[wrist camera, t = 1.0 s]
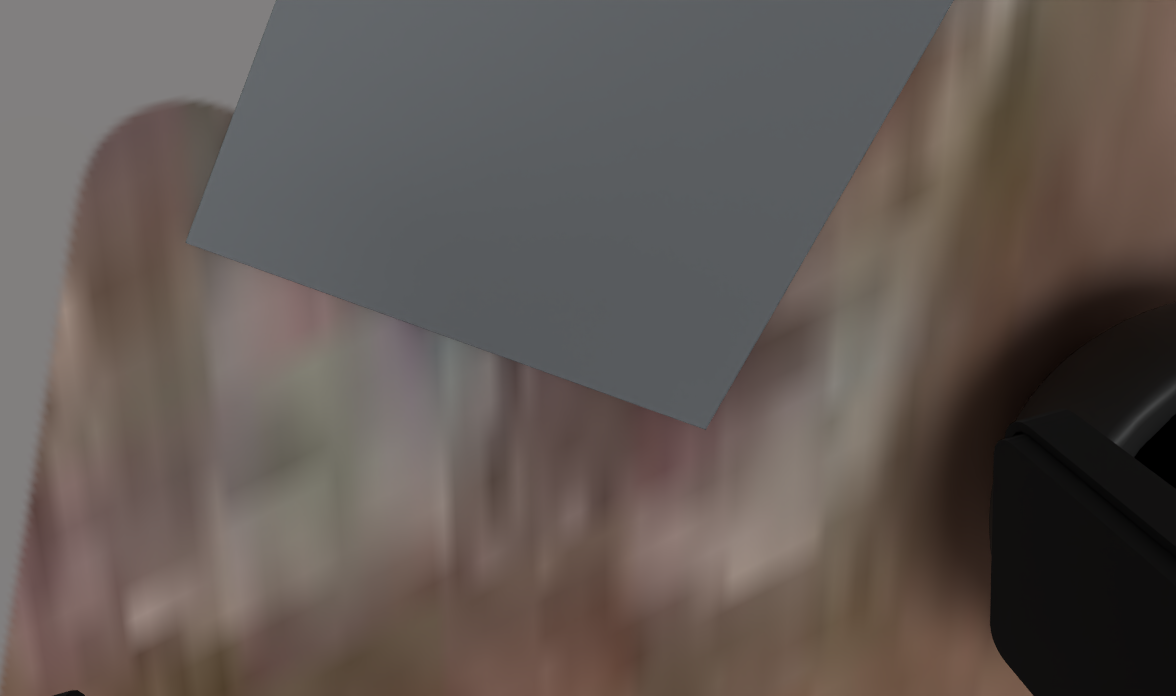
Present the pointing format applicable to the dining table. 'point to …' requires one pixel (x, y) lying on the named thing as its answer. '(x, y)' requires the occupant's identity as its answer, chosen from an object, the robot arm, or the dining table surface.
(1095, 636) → the robot arm
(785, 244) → the mat
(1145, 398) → the coal bowl
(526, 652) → the dining table surface
